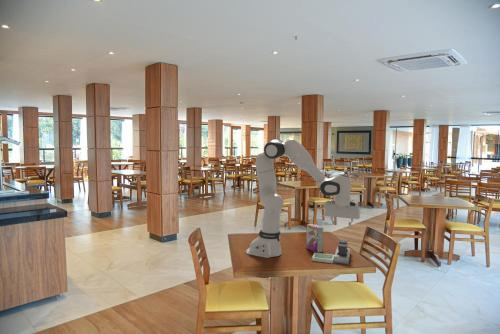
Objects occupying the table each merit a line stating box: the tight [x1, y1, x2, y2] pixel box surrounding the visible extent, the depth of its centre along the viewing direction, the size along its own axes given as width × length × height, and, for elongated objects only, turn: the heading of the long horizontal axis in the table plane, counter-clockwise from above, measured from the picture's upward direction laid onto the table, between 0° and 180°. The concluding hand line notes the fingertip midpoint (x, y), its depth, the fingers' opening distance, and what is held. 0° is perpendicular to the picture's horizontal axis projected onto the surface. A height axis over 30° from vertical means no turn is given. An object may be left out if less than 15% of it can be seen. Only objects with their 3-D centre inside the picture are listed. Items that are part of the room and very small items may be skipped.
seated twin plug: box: [338, 239, 349, 252], centre depth 211 cm, size 5×5×8 cm
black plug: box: [337, 243, 348, 256], centre depth 203 cm, size 5×5×8 cm
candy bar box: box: [305, 223, 324, 253], centre depth 222 cm, size 11×5×16 cm, turn 31°
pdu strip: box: [333, 246, 351, 265], centre depth 207 cm, size 8×20×5 cm, turn 161°
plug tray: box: [311, 252, 335, 264], centre depth 204 cm, size 12×10×2 cm
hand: (341, 224), depth 203 cm, fingers open, 8 cm apart
